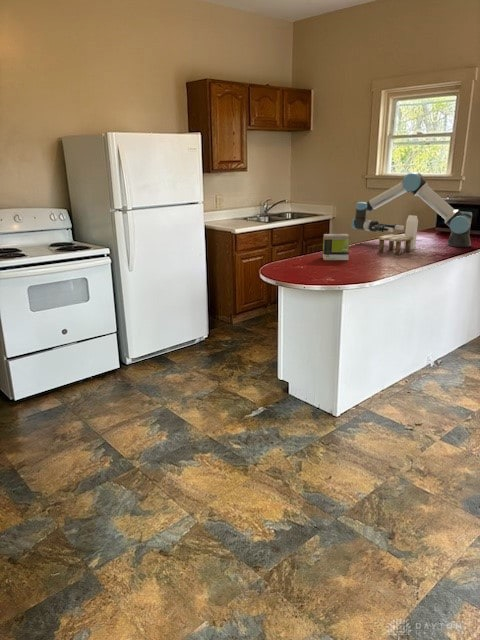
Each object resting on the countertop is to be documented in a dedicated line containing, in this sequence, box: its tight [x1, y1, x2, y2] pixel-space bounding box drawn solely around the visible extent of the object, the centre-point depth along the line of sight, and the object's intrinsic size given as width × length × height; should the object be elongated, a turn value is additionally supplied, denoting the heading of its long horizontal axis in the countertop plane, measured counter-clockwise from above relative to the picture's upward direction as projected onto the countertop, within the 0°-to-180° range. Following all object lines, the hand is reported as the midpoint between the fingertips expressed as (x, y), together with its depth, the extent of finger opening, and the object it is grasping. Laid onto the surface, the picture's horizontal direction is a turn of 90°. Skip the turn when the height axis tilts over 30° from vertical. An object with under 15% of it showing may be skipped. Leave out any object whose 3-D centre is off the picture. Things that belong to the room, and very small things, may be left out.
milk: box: [403, 214, 419, 251], centre depth 329 cm, size 6×6×22 cm
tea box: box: [322, 233, 351, 261], centre depth 299 cm, size 15×10×15 cm, turn 84°
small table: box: [377, 233, 413, 256], centre depth 319 cm, size 16×16×10 cm
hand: (398, 229), depth 336 cm, fingers open, 13 cm apart
